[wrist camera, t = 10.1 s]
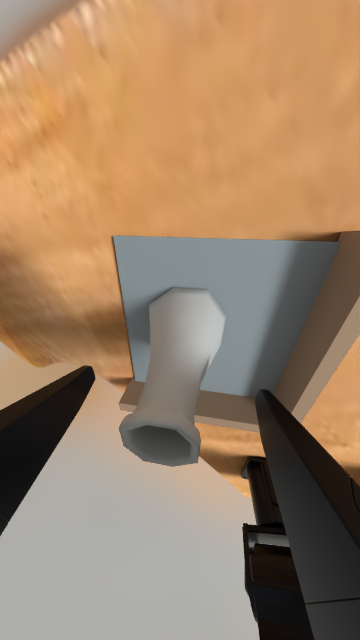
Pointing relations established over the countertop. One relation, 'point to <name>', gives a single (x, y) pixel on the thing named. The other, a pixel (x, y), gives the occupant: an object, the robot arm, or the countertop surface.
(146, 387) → the flask
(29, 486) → the robot arm
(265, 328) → the corner arena
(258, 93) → the countertop surface
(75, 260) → the countertop surface
